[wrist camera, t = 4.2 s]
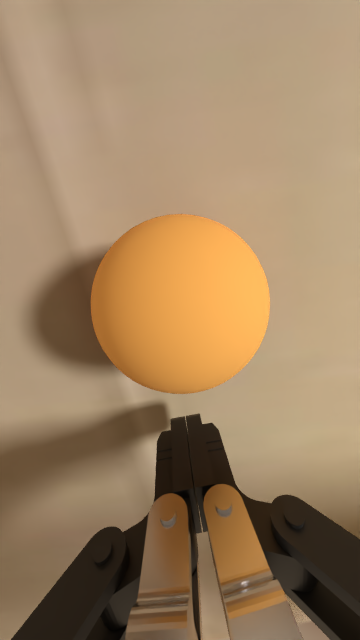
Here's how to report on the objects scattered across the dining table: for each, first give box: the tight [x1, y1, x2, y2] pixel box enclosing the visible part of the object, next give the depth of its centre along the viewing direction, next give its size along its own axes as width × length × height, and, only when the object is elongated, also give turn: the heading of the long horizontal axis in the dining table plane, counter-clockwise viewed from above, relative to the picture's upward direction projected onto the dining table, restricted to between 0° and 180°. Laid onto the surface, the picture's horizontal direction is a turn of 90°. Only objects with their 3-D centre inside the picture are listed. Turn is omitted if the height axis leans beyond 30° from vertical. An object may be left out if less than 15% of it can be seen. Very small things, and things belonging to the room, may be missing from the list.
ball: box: [91, 214, 270, 394], centre depth 8 cm, size 6×6×6 cm
